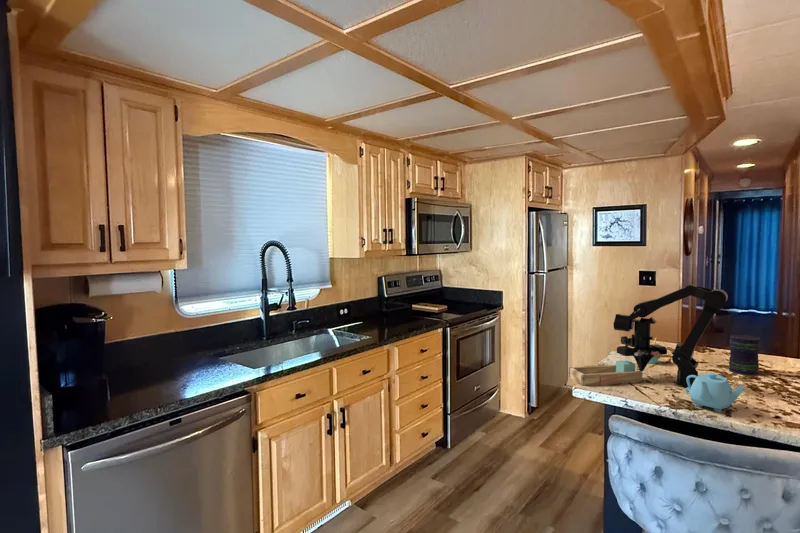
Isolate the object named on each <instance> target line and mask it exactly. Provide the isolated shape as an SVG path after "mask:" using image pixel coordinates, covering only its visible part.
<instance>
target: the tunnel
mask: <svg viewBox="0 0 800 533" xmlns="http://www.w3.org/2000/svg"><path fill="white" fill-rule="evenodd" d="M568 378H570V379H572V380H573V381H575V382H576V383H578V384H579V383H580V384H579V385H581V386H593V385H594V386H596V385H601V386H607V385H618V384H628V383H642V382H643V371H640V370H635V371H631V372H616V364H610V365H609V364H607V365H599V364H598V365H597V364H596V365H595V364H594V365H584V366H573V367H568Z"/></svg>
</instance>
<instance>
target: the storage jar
mask: <svg viewBox="0 0 800 533" xmlns="http://www.w3.org/2000/svg"><path fill="white" fill-rule="evenodd" d="M729 349H730V350H729V351H730V353H729V355H730V356H729V359H728V360H729V361H728V370H729V372H731V373H734V374H738V375H743V376H757V375H759V369H760V368H759V367H760V366H759V364H760V362H759V352H760V337H758V336H754V335H750V334H741V333H740V334H738V333H735V334H730V337H729Z"/></svg>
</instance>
